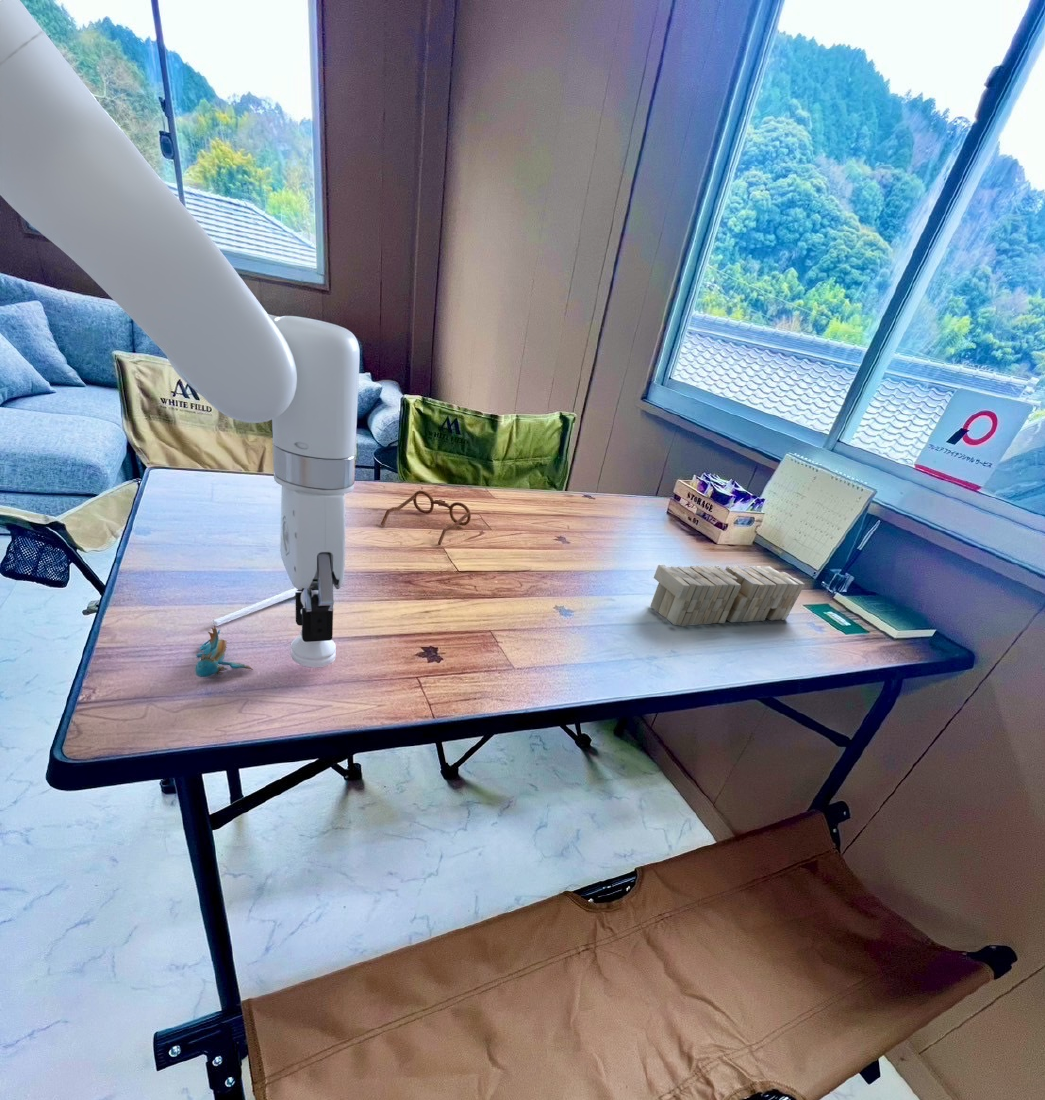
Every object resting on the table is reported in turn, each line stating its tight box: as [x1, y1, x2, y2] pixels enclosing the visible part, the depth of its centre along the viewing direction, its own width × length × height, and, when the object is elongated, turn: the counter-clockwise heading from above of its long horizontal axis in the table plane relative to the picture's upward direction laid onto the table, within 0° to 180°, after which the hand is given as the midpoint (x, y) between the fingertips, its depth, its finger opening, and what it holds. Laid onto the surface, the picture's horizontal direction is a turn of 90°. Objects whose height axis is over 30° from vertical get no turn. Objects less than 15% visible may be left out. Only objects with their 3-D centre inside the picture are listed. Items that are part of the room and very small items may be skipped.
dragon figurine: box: [194, 625, 254, 678], centre depth 67 cm, size 7×7×8 cm
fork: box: [212, 587, 302, 627], centre depth 81 cm, size 3×20×2 cm, turn 150°
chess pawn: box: [290, 590, 337, 669], centre depth 67 cm, size 5×5×9 cm
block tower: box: [649, 564, 806, 627], centre depth 106 cm, size 8×8×29 cm
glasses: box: [380, 490, 472, 546], centre depth 115 cm, size 13×13×5 cm
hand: (313, 630), depth 67 cm, fingers closed on chess pawn, 3 cm apart
